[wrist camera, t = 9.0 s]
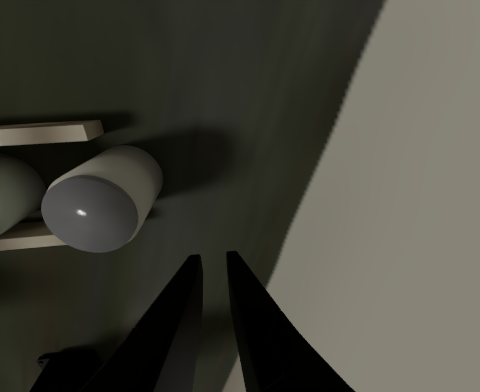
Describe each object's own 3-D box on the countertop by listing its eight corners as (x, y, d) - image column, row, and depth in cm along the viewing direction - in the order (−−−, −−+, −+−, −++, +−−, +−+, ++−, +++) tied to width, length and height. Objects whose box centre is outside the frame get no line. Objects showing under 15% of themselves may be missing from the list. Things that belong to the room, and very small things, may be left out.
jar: (168, 201, 20) (147, 250, 14) (107, 206, 19) (60, 259, 14) (156, 142, 17) (125, 171, 12) (86, 147, 17) (18, 179, 11)
